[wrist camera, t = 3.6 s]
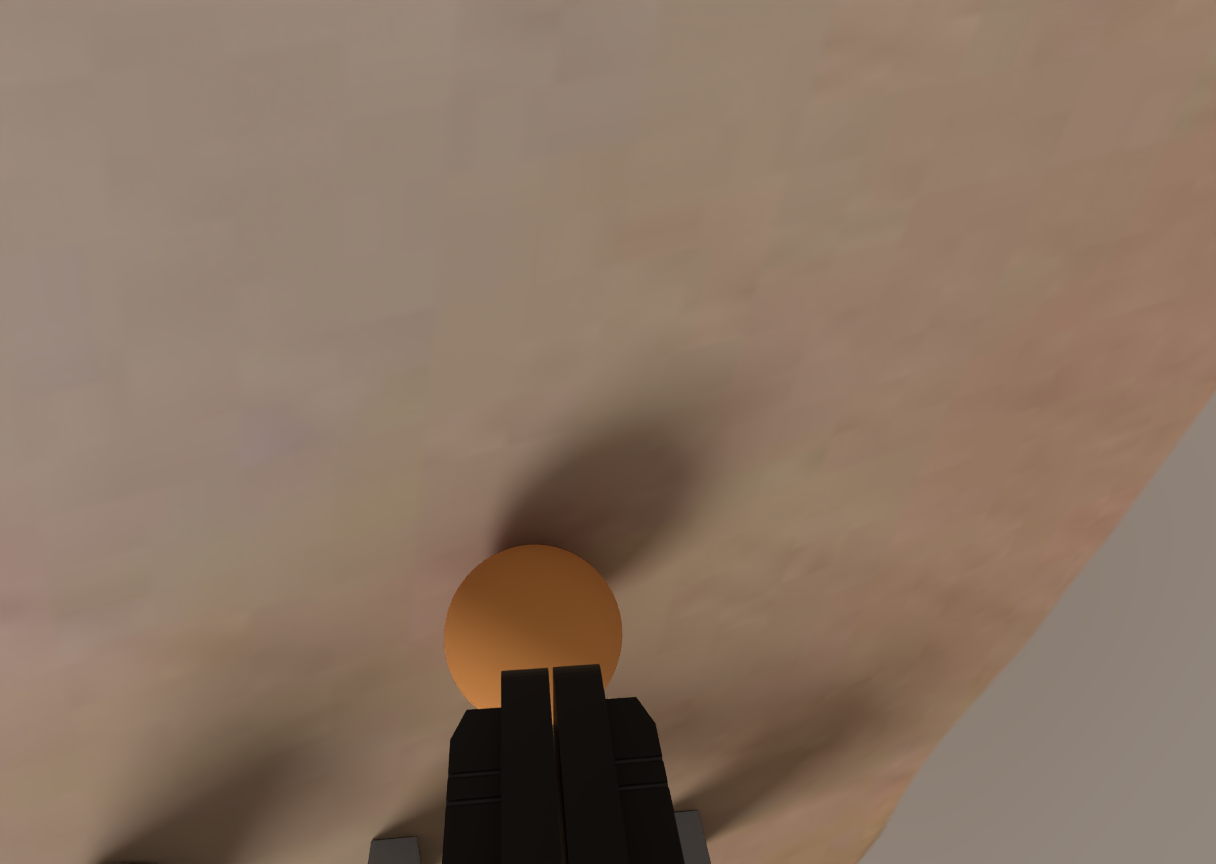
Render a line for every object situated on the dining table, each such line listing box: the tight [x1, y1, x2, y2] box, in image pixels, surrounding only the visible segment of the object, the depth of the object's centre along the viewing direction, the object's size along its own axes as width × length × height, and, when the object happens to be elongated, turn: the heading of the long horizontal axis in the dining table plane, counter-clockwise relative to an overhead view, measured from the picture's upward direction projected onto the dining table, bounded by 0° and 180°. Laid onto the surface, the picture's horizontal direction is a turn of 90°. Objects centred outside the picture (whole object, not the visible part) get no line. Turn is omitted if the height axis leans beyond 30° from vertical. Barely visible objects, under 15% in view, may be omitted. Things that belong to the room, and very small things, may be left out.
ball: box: [444, 545, 622, 725], centre depth 27 cm, size 6×6×6 cm
